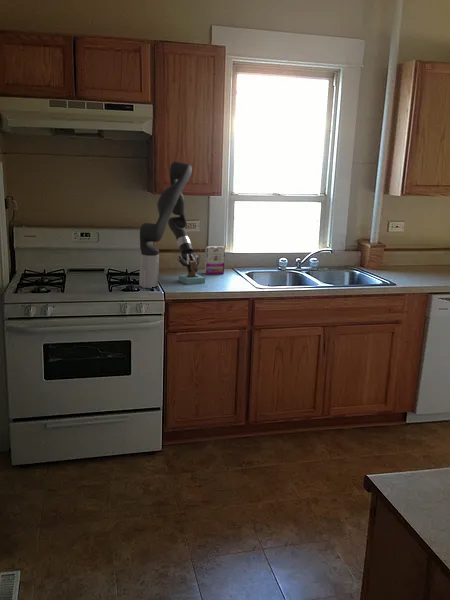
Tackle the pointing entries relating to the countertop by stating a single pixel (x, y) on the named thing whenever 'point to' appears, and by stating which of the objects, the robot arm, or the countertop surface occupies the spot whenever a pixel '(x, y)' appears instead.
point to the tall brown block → (193, 267)
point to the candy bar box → (214, 259)
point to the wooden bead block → (191, 279)
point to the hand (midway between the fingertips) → (193, 271)
